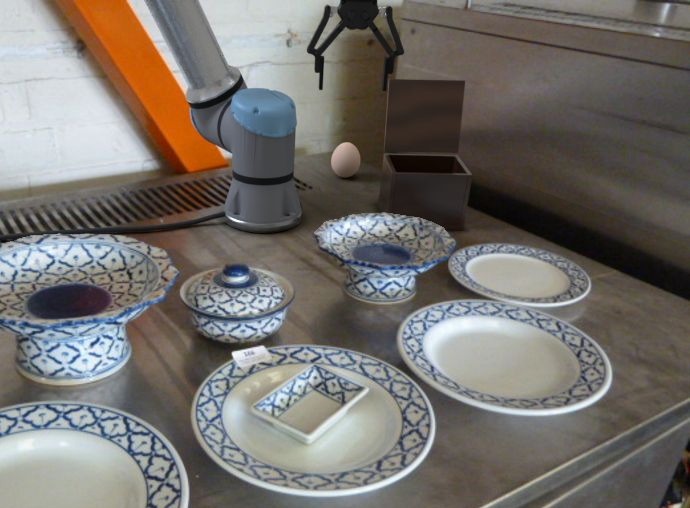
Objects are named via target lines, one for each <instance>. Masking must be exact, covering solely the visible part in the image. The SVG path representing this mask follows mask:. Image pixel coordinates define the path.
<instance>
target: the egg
mask: <svg viewBox="0 0 690 508" xmlns="http://www.w3.org/2000/svg"><path fill="white" fill-rule="evenodd" d="M330 165H331V168H332V171H333V172H334V173H335V174H336V175H337V176H339V177H340V178H350V177H352V176H354V175H355V174H356V173H357V172H358V171H359V169H360V165H361V154H360V152H359V149H358V148H357V146H355V145H354V144H353V143H352V142H349V141H347V142H346V141H345V142H342V143H340V144H339V145H338V146H336V147H335V149H334V150H333V152H332V155H331V159H330Z"/></svg>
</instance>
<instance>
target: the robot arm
mask: <svg viewBox="0 0 690 508" xmlns="http://www.w3.org/2000/svg"><path fill="white" fill-rule="evenodd" d="M143 1H144V3H145V6H146V7H147V9H148V11H149V13H150V14H151V17H152V19H153V21H154V22H155V24H156V26H157V28H158V31H159V32H160V34H161V36H162V38H163V40H164V42H165V44H166V46H167V48H168V50H169V51H170V54H171V56H172V58H173V59H174V61H175V63H176V65H177V67H178V69H179V71H180V73H181V75H182V77H183V79H184V81H185V83H186V85H187V89H186V91H185V95H184V97H185V100H186V102H187V104H188V105H189V116H190V122H191V124H192V126H193V128H194V129H195V131H196V133H198V135H200V137H202V139H204V140H205V141H207V142H208V143H210V144H213V146H217V147H219V148H220V149H223V150H224V151H226V152H228V153H230V154H231V160H232V161H231V164H232V165H231V166H232V167H231V171H232V178H231V179H232V180H231V183H230V186H229V190H228V193H227V196H226V199H225V201H224V205H223V208H222V210H223V211H221V212H217V213H212V214H209V215H206V216H202V217H199V218H195V219H190V220H189V219H188V220H184V221H179V222H171V223H164V224H152V225H134V226H133V225H132V226H131V225H129V226H110V227H109V226H108V227H88V228H72V229H71V228H69V229H53V230H43V231H42V230H41V231H28V232H19V233H18V232H17V233H8V234H6V233H5V234H0V241H8V240H19V239H18V238H20V239H23V238H22V237H26V236H30V235H43V234H58V233H63V234H72V235H86V234H85V233H90V234H109V233H110V234H111V233H133V232H150V231H162V230H170V229H178V228H183V227H189V226H194V225H198V224H201V223H205V222H209V221H213V220H216V219H220V218H223V221H224V222H225V224H227V226H230V227H231V228H234V229H236V230H240V231H243V232H249V233H256V234H257V233H258V234H266V233H267V234H269V233H271V234H272V233H278V232H283V231H288V230H291V229H293V228H295V227H297V226H298V225H299V224H300V223H301V221H302V219H303V218H302V217H303V216H302V214H303V206H302V203H301V201H300V199H299V194H298V191H297V188H296V184H295V177H294V176H295V157H296V156H295V155H296V154H295V153H296V134H297V133H296V132H297V131H296V130H297V126H298V118H297V107H296V103H295V101H294V100H293V98H292V97H290V96H289V95H287V94H286V93H284V92H281V91H278V90H274V89H273V90H272V89H269V88H264V87H250V88H248V86H247V83H246V81H245V79H244V77H243V74H242V73H241V72H242V71H241V70H240V69H239V67H236V66H233V65H230V64H229V63H228V61H227V58H226V57H225V54H224V52H223V50H222V48H221V45H220V43H219V41H218V39H217V37H216V35H215V33H214V31H213V28H212V26H211V24H210V22H209V20H208V18H207V15H206V13H205V11H204V9H203V7H202V5H201V2H200V0H143ZM323 7H324V8H323V14H322V18H321V19H320V21H319V23H318V25H317V27H316V29H315V30H314V33H313V35H312V37H311V39H310V40H309V42H308V45H307V47H306V52H307V54H308V55H311V56H313V57H314V66H313V67H314V68H313V70H314V73H315V74H318V90H319V91H323V89H324V75H325V73H324V72H325V71H324V70H325V55H323V54H324V53H325V52H326V51H327V49H328V48H329V47H330V45H331V44H332V43H334V41H335V40H336V39H337V37H338V36H339V35H340V34H341V33H342V32H343V31H344V30H345V29H347V30H350V31H354V30H360V31H365V30H367V29H368V28H369V30H370V31H371V33H373V35H374V37H375V38H376V39H377V41H378V42H379V44H380V45H381V47H382V49H384V51H385V53H386V54H387V56H383V66H382V77H381V86H380V87H381V88H380V89H381V90H382V92H387V91H388V80H389V79H388V77H389V75H393V73H394V70H395V69H394V67H395V59H396V58H398V57H399V56H403V55H404V54H405V49H404V47H403V44H402V41H401V39H400V35H399V32H398V29H397V27H396V24H395V21H394V18H393V7H392V6H391V5H389V4H388V5H386V6H381V7H379V6H378V0H339V4H338V6H334V5H330V4H325V5H324V6H323ZM336 13H337V16H338V17H339V18H340V21H338V23H337V24H336V26H335V27H334V28H333V29H332V30H331V31H330V33H329V34H328V35H327V36H326V38H325V39H324V40H323V41H322V42H321V43H320V44H319V46H318V47H317V44H318V42H319V40H320V38H321V36H322V35H323V32H324V31H325V28H326V27H327V25H328V22H329V21H330V20H329V19H331V18H333V17H334V15H335V14H336ZM378 15H381V18H383V19H385V23H386V25H387V29H388V31H389V34H390V36H391V39H392V42H393V44H394V47H395V49H393V48H392V47H391V45H390V44H389V43H388V41H387V40H386V38H385V36H384V35H383V34H382V33H381V31H380V30H379V28H378V26H377V25H376V23H375V22H374V21H375V19H376V18H377V17H378ZM316 47H317V48H316Z"/></svg>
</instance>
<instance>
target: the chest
mask: <svg viewBox="0 0 690 508" xmlns="http://www.w3.org/2000/svg"><path fill="white" fill-rule="evenodd" d="M381 167H382V168H381V176H380V177H381V178H380V186H379V194H378V195H379V196H378V204H377V205H378V209H379V212H380V213H381V212H386V213H393V214H400V215H406V216H414V217H420V218H423V219H426V220H428V221H432V222H434V223H436V224H438V225H440V226H442V227H444V228H445V229H446V230H445V231H463V230H464V225H465V220H466V215H467V210H468V204H469V198H470V192H471V186H472V181H473V174H472V172H471V171H470V170H469V168H468V167H467V165H466V163H464V162H463V160H462V159H461V158H460V157H459V155H458V154H430V153H429V154H425V153H389V152H388V153H387V152H386V153H383V158H382V166H381Z"/></svg>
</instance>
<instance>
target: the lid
mask: <svg viewBox="0 0 690 508" xmlns="http://www.w3.org/2000/svg"><path fill="white" fill-rule="evenodd" d="M465 87H466V80H460V79H458V80H457V79H413V78H389V79H388V82H387V99H386V115H385V127H384V128H385V129H384V143H383V151H384V152H403V153H405V152H410V153H443V154H444V153H447V154H448V153H451V154H453V153H454V154H458V153H459V152H460V151H459V149H460V140H461V129H462V120H463V110H464V101H465V100H464V98H465V89H466V88H465Z"/></svg>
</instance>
